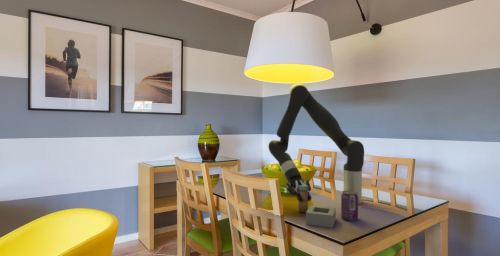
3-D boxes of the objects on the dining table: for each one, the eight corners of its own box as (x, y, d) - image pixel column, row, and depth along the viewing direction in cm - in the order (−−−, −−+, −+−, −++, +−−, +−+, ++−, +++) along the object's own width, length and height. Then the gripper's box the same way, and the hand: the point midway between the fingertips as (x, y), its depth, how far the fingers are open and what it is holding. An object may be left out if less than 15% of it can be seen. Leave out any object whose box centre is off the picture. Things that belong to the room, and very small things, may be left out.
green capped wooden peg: (299, 208, 138) (299, 184, 137) (308, 209, 136) (308, 185, 136) (297, 211, 134) (297, 186, 133) (307, 212, 132) (306, 187, 132)
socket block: (310, 215, 129) (310, 205, 129) (335, 219, 125) (335, 207, 124) (305, 224, 119) (305, 212, 119) (332, 227, 114) (332, 215, 114)
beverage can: (360, 218, 125) (360, 191, 125) (354, 222, 120) (354, 195, 120) (345, 215, 130) (345, 189, 130) (338, 219, 125) (338, 192, 124)
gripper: (282, 168, 138) (297, 198, 127) (305, 165, 144) (321, 194, 134) (276, 177, 142) (290, 207, 132) (298, 174, 149) (313, 202, 139)
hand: (305, 200), depth 133 cm, fingers closed on green capped wooden peg, 4 cm apart
